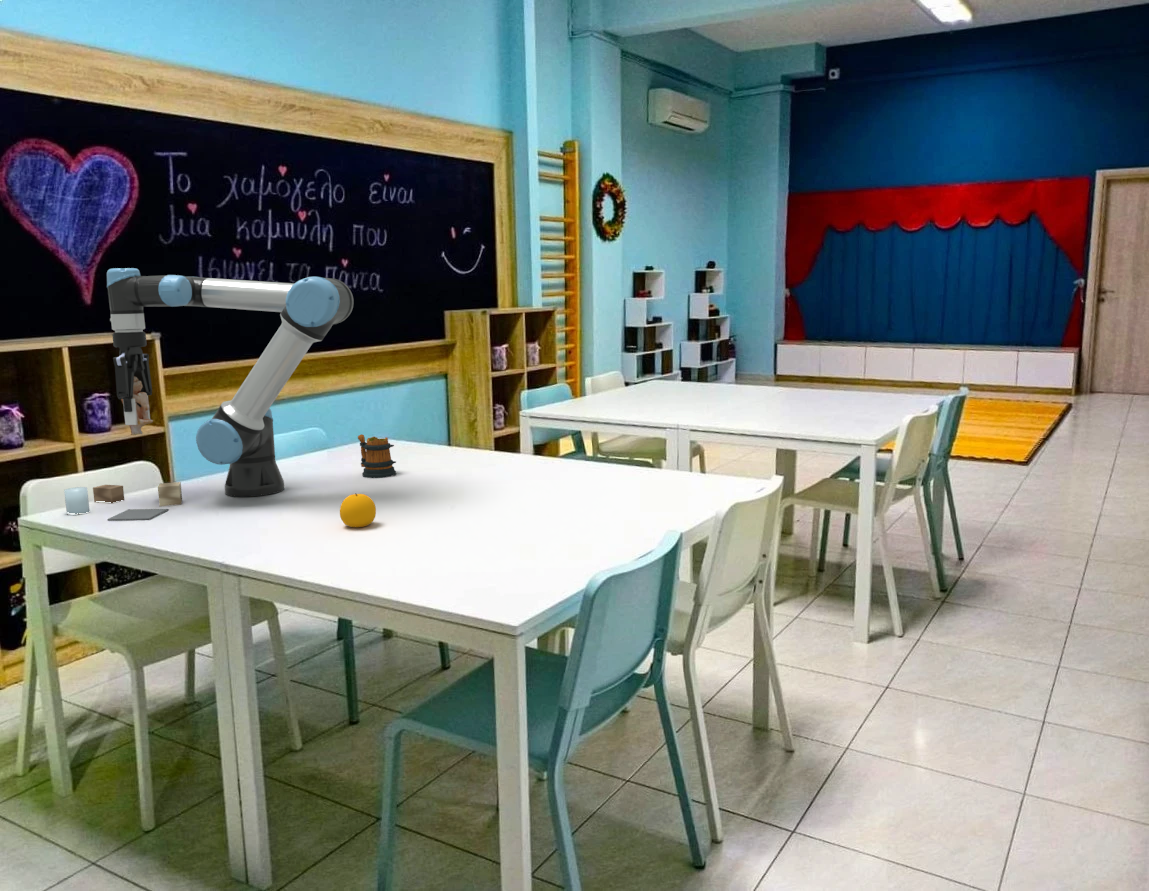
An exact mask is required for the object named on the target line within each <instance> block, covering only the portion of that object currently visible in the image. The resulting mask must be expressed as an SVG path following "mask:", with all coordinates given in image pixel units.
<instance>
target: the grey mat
mask: <svg viewBox="0 0 1149 891" xmlns="http://www.w3.org/2000/svg"><path fill="white" fill-rule="evenodd" d="M169 510H170V509H169V508H138V509H137V508H134V509H133V508H132V509H131V508H130V509H126V510H124V511H122V512H119V513H118V514H115V515H114V516H112V517H109V518H107V521H109V522H110V521H111V522H112V521H115V522H116V521H117V522H118V521H119V522H121V521H151V520H153V519H154V518H156V517H158V516H160V515H162V514H164V513H166V512H168V511H169Z"/></svg>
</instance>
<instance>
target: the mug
mask: <svg viewBox="0 0 1149 891" xmlns="http://www.w3.org/2000/svg"><path fill="white" fill-rule="evenodd" d="M357 440H358V441H359V446H360V454H361V460H360V461H361V462H360V466H361V468H363V472H362V473H361V474H362V477H363V478H365V479H385V478H390V477H394V476H396V475H397V471H396V470H395V466H393V465H394V464H396V463H397V460H396V461H394V460H393V459H392V457H391V450H390V449H391V448H393V447H394V446H395V445H394V444H391V443H390V442H389V437H385V438H378V437H376V436H372V437H368V438H367V439H366V438H365V435H364V434H360V435H358V436H357Z"/></svg>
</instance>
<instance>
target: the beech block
mask: <svg viewBox="0 0 1149 891" xmlns="http://www.w3.org/2000/svg"><path fill="white" fill-rule="evenodd" d="M182 494H183V492H182V483H181V481H178V482H177V481H175V482H164V483H158V486H157V495H158V503H159V507H166V506H169V507H170V506H178V505H182V503H183V495H182Z"/></svg>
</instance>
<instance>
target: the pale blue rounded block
mask: <svg viewBox="0 0 1149 891" xmlns="http://www.w3.org/2000/svg"><path fill="white" fill-rule="evenodd" d="M63 490H64V491H63V492H64V502H65V509H66V513H67V512H69V513H75V514H77V513H78V514H79V513H86V512H89V511H90V503H89V502H90V501H89V493H88V487H86V486H76V487H70V488H66V489H63ZM89 513H90V512H89ZM86 514H87V513H86Z"/></svg>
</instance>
